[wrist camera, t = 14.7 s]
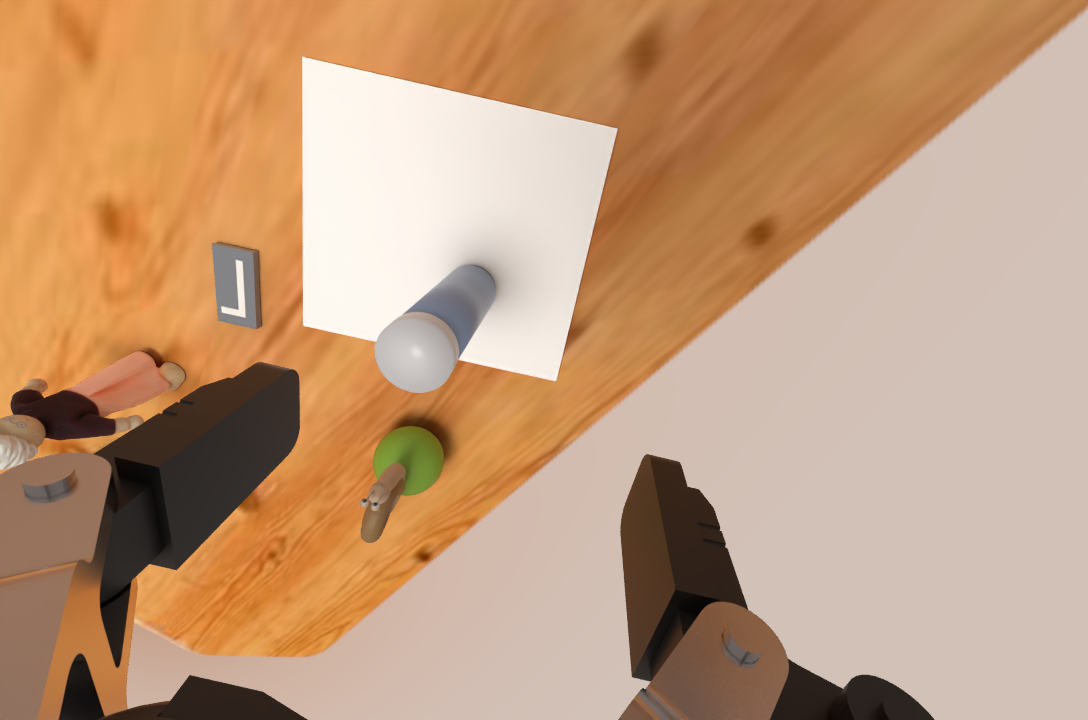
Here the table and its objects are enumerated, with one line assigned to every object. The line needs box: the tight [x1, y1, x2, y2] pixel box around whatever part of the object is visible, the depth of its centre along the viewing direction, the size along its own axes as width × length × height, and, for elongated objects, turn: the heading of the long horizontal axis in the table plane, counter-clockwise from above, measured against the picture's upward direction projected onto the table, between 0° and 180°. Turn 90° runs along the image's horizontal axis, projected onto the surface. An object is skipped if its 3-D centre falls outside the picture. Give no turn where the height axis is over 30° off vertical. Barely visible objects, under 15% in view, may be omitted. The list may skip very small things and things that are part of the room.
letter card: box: [212, 242, 261, 329], centre depth 35 cm, size 6×3×1 cm, turn 168°
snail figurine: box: [360, 426, 444, 543], centre depth 34 cm, size 5×6×12 cm
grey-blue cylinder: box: [375, 265, 496, 393], centre depth 28 cm, size 4×4×13 cm
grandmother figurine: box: [0, 351, 185, 470], centre depth 33 cm, size 8×4×13 cm, turn 77°
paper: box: [302, 57, 618, 381], centre depth 33 cm, size 18×20×1 cm
